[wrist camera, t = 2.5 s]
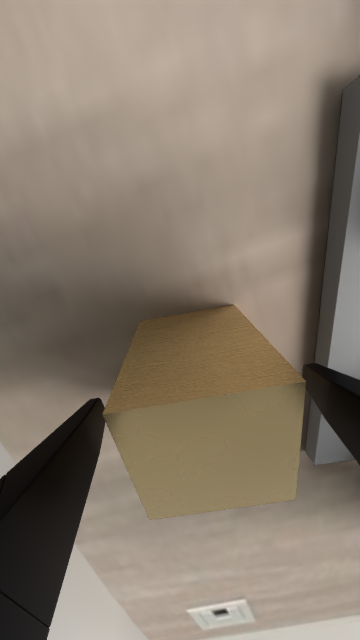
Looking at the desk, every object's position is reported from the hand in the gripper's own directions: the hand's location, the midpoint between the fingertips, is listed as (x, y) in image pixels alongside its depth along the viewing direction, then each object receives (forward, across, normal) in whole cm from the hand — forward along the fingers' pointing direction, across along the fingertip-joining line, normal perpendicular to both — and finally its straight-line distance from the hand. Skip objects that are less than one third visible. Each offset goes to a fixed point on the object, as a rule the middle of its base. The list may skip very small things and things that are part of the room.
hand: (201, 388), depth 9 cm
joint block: (+3, 0, 0) cm, 3 cm away
